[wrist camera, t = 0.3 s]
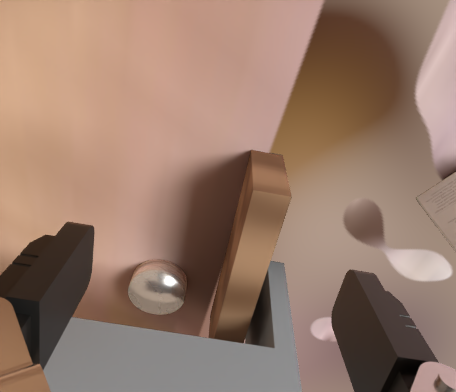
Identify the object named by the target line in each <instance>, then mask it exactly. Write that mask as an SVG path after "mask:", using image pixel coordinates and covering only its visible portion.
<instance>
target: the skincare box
mask: <svg viewBox="0 0 456 392" xmlns="http://www.w3.org/2000/svg"><path fill="white" fill-rule="evenodd" d="M416 200H417V201H418V203H419V204H420V205H421V207H422V208H423V209H424V211H425V212H426V213H427V215H428V216H429V217H430V219H431V220H432V221H433V223H434V224H435V225H436V226H437V228H438V229H439V231H440V232H441V233H442V235H443V236H444V237H445V238H446V240H447V241H448V243H449V244H450V245H451V247H452V248H453V249H454V251H455V252H456V172H455V173H453V174H452V175H450V176H448V177H447V178H445V179H444V180H442V181H441V182H439V183H438V184H436V185H435V186H433V187H432V188H430V189H428V190H427V191H426V192H424V193H423V194H421V195H419V196H418V197H416Z"/></svg>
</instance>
